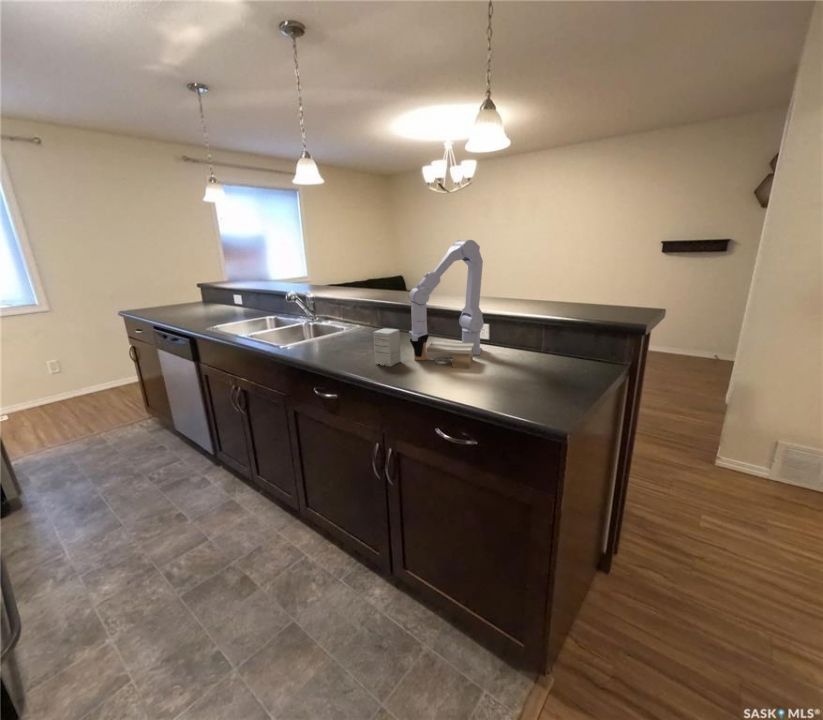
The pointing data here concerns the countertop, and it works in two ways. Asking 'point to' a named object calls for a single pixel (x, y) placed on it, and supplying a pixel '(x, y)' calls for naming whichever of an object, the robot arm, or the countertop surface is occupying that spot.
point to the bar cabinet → (455, 352)
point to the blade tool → (431, 354)
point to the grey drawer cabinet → (387, 346)
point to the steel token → (442, 361)
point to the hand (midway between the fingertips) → (420, 354)
